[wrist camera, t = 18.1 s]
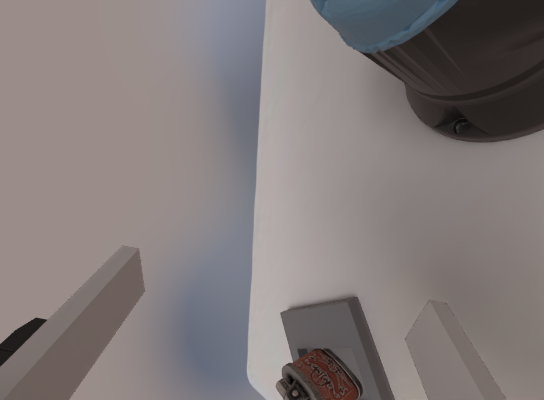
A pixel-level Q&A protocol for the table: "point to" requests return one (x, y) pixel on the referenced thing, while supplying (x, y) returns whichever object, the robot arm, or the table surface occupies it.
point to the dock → (339, 341)
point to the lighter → (319, 378)
